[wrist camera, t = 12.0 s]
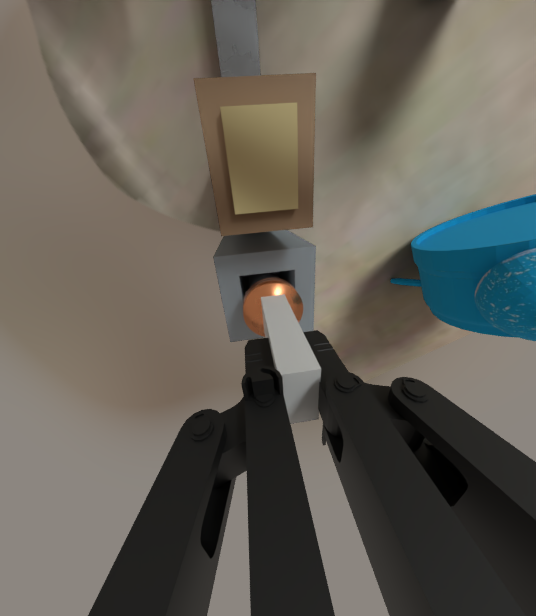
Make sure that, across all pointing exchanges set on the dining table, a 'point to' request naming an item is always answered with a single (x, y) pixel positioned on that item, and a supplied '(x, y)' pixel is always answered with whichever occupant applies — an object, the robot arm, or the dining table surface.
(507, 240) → the alarm clock
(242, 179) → the carriage
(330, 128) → the dining table surface
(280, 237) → the grey boxy piece
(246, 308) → the gauge plunger
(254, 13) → the rail
